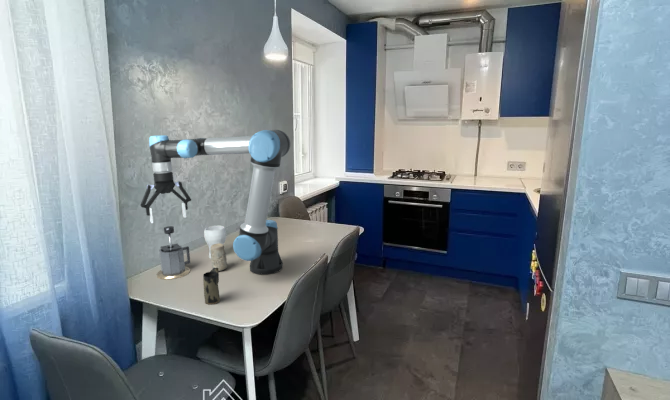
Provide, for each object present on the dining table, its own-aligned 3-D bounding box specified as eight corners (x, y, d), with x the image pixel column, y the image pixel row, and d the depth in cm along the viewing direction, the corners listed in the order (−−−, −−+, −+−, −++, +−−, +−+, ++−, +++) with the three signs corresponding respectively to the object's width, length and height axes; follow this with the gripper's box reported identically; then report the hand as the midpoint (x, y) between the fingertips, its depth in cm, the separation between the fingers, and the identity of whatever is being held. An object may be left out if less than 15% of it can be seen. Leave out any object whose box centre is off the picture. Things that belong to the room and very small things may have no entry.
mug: (215, 305, 136) (212, 275, 134) (201, 304, 137) (199, 274, 135) (225, 295, 144) (223, 267, 141) (212, 294, 145) (210, 266, 142)
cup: (221, 260, 180) (219, 231, 177) (201, 259, 182) (199, 230, 179) (231, 253, 191) (229, 225, 187) (212, 252, 193) (210, 224, 190)
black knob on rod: (182, 268, 165) (178, 227, 161) (167, 271, 161) (162, 230, 157) (178, 264, 170) (174, 224, 166) (163, 267, 166) (159, 227, 162)
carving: (218, 265, 174) (216, 241, 171) (230, 268, 170) (228, 244, 168) (208, 270, 168) (206, 245, 166) (220, 273, 165) (218, 248, 163)
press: (195, 273, 165) (192, 247, 162) (160, 282, 156) (157, 254, 154) (186, 264, 176) (184, 240, 173) (153, 271, 168) (150, 246, 165)
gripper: (190, 168, 167) (195, 213, 171) (128, 174, 152) (135, 223, 157) (195, 169, 161) (200, 216, 165) (131, 175, 146) (138, 226, 151)
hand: (168, 219), depth 161 cm, fingers open, 13 cm apart
